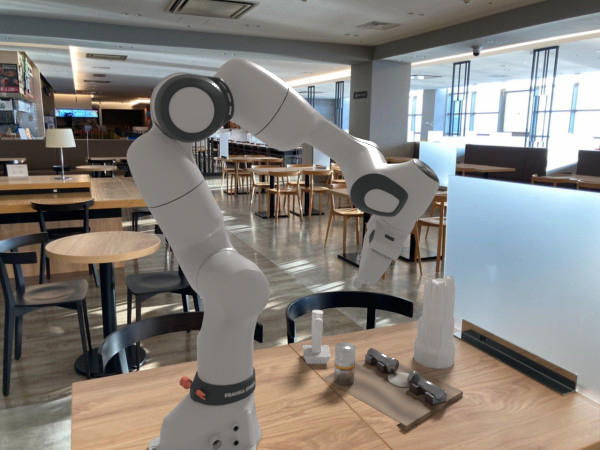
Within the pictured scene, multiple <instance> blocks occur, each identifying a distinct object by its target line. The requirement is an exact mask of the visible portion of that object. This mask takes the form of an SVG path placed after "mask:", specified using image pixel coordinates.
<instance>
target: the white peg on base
mask: <svg viewBox="0 0 600 450" xmlns="http://www.w3.org/2000/svg"><path fill="white" fill-rule="evenodd" d="M323 316H324V311H323V310H320V309H313V310H312V311H311V344H302V353H303V358H304V360H305V363H306V364H307V365H327V364H328V363H329V361H330V359H331V358H332V355H331V351H330V345H329V344H322V338H323V333H324V328H323V326H324V325H323V324H324V322H323Z"/></svg>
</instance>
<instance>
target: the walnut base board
mask: <svg viewBox="0 0 600 450" xmlns="http://www.w3.org/2000/svg"><path fill="white" fill-rule="evenodd" d="M412 371H417V372H419V373H420V374H421V377H423V378H425V379H426V380H428V381H430V382H431V383H433V384H435V385H437V386H438V387H440V388H442V389H443V390H445V392H447V397H446V401H445V402H443V403H440V404H437V405H435V406H431V405H430V404H428V403H427V402H425V393H424V394H421V395H418V396H416V395H414V394H413V393H411V392H410V391H409V390H410V385H408V383H407V378H408V375H409V374H410V373H411V372H412ZM321 379H322V380H323V381H326V382H327V383H328V384H331V385H332V386H334V387H336V388H338V389H339V390H341V391H342V392H345V393H346V394H348V395H350V396H352V397H354V398H356V399H357V400H358V401H361V402H363V403H365V404H366V405H368V406H370V407H372V408H373V409H375V410H377V411H379V412H380V413H382V414H384V415H385V416H387V417H389V418H391V419H393V420H395V421H396V422H398V424H396V427H398V428H400V429H401V430H404V431H408V430H411V429H412V428H413V427H415V426H416V425H418V424H420V423H421V422H423V421H425V420H426V419H427V418H429V417H431V416H432V415H435V414H436V413H437V412H439V411H441V410H443V409H444V408H446V407H447V406H448V405H451V404H452V403H454V402H455V401H457V400H459V399H460V398H462V397H463V393H464V392H463V390H461V389H458V388H456V387H454V386H452V385H450V384H447V383H445V382H444V381H441V380H439V379H436V378H434V377H432V376H430V375H427V374H425V373H423V372H421V371H419V370H416V369H414V368H412V367H410V366H408V365H405V364H403V363H401V362H399V368H398V370H397V371H396V372H395V373H385V374H382V373H380V372H379V371H377V364H376V365H373V366H370V365H368V364H367V363H365V359H364V360H361V361H359V362H357V363H356V362H355V379H354V384H352V385H350V386H341V385H338V384H336V383H335V382H334V372H333V373H330V374H327V375H326V376H324V377H321Z"/></svg>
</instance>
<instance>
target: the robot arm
mask: <svg viewBox="0 0 600 450" xmlns="http://www.w3.org/2000/svg"><path fill="white" fill-rule="evenodd" d="M229 122H232V123H234V124H236V125H237V126H239V127H240V128H242V129H243V130H244V131H246V132H248V134H250V135H252V136H253V137H255V139H257V140H258V141H260V142H262V144H265V145H267V146H268V147H271V148H273V149H275V150H278V151H280V152H286V151H292V150H295V149H297V148H300V146H302V145H303V144H307V145H310V146H311V147H313V148H314V149H316V150H317V151H319V152H320V153H322V154H323V155H325V156H326V157H328V158H330V159H331V160H332V161H334V162H335V163H336V164H337V166H338V167H339V169H340V171H341V174H342V176H343V179H344V182H345V185H346V189H347V190H346V191H347V193H348V196H349V199H350V201H351V203H352V205H353V206H354V207H355V208H356V209H357V210H359V211H361V212H362V213H366V214H370V215H371V216H370V217H369V220H368V221H367V223H366V229H367V230H366V232H365V234H364V237H363V243H362V249H361V252H360V254H359V255H358V257H357V259H356V264H357V265H358V266H359V267H358V274H357V276H355V278H354V280H353V281H352V286H353V287H354V288H355V289H356V290H359V289H361V287H362V286H363V285H365V284H366V285H368V286H373V285H375V284H376V283H377V282H378V281H379V279H381V277H382V276H383V275H384V274H385V273H386V271H387V270H388V268H389V267H390V266H391V264H392V262H393V260H394V261H397V260H398V258H399V257H400V256H401V254H402V250H403V247H404V244H405V242H406V241H407V240H408V237H409V236H410V234H411V233H412V231H413V229H414V228H415V225H416V222H417V221H418V220H419V218H420V217H422V216H423V215H424V214H425V212H426V211H427V210H428V208H429V207H430V205H431V203H432V202H433V200H434V198H435V197H436V195H437V192H438V191H439V187H440V179H439V177H438V175H437V173H436V172H435V170H433V169H432V168H431V167H430V165H428V164H427V163H425V162H424V161H422V160H420V159H417V158H412V159H410V160H407V161H405V162H404V161H403V162H399V163H388V161H387V158H386V154H385V152H384V150H383V149H382V148H381V146H380V145H378V144H377V143H375V142H373V141H370V140H367V139H363V138H358V137H355V136H353V135H351V134H350V133H348V132H347V131H345V130H344V129H342V128H341V127H339V126H338V125H337V124H336V123H334V122H332V121H331V120H329V119H328V118H327V117H326V116H324V115H322V114H321V113H320V112H319V111H317V109H315V108H314V106H312V104H310V103H309V102H308V100H306V99H305V98H304V97H303V96H302V94H301V93H299V92H298V91H297V90H295V89H294V88H293V87H292V86H291V85H290V84H288V83H287V82H285V81H284V80H283V79H281V78H280V77H279V76H277V75H276V74H274V73H273V72H271V71H270V70H268V69H266V68H264V67H263V66H261V65H260V64H257V63H256V62H254V61H252V60H249V59H247V58H245V57H242V56H241V57H239V56H238V57H233V58H230V59H229V60H227V61H226V62H224V63H223V64H222V65H221V66H220V67H219V68H218V70H217V71H216V73H215V74H214V75H213V76H211V75H204V74H203V75H201V74H195V73H191V72H190V73H189V72H183V71H182V72H181V71H180V72H174V73H170V74H169V75H166V76H164V77H163V78H162V79H160V81H158V82H157V83H156V84H155V86H154V87H153V90H152V92H151V95H150V99H149V130H148V131H147V132H145V133H143V134H142V135H140V136H138V137H137V138H136V139H135V140H133V142H132V143H131V144H130V145H129V147H128V149H127V151H126V161H127V165H128V167H129V171H130V173H131V176H132V178H133V181H134V183H135V185H136V187H137V189H138V192H139V194H140V195H141V196H140V197H141V199H143V201H144V203H145V205H146V207H147V208H148V210H149V212H150V213H151V215H152V217H153V218H154V220H155V221H156V224H157V225H158V227H159V228H160V231H161V232H162V233H163V235H164V237H165V239H166V240H167V242H168V244H169V246H170V248H171V250H172V253H173V254H174V257H175V259H176V260H177V263H178V265H179V267H180V268H181V271H182V273H183V274H184V277H185V279H186V280H187V282H188V283H189V286H190V287H191V289H193V291H194V292H195V293H196V294H197V295H198V296H199V297H200V298H201V300H202V303H203V308H204V311H203V318H202V324H201V328H200V330H199V331H198V333H197V335H196V360H197V361H196V362H197V363H196V364H197V365H196V367H197V370H196V372H195V374H194V377H193V379H191V378H189V377H188V376H186V375H183V376H182V377H181V378H180V379H179V381H178V382H179V385H180V386H181V387H182V388H183V389H184V390H189V391H188V393H187V394H186V395H185V396H184V397H183V399H181V401H179V402H178V404H177V405H176V406H175V407H173V408H172V410H170V411H169V413H168V414H166V415H165V417H164V418H163V420H162V422H161V426H160V433H159V435H158V436H157V437H155V438H153V439H152V440H150V441H149V444H148V446H147V447H148V449H147V450H257V446H258V444H259V442H260V441H261V439H262V429H261V425H260V423H259V419H258V416H257V415H258V413H257V409H256V408H257V407H256V402H255V390H256V388H257V387H256V385H257V384H256V380H257V379H256V370H255V369H256V368H255V367H254V338H255V337H254V336H255V330H256V326H257V322H258V319H259V318H258V317H259V315H260V314H261V313H263V311H264V310H265V308H267V305H268V303H269V300H270V296H271V285H270V282H269V280H268V278H267V276H266V275H265V274H264V272H263V271H262V270H261V268H260V267H259V266H258V265H257V264H256V263H255V262H254V261H252V260H250V259H249V258H247V257H245V256H243V255H242V254H240V253H239V252H238V251H237V249H235V247H234V246H233V245H232V242H231V240H230V238H229V235H228V233H227V229H226V226H225V222H224V214H223V212H222V209H221V208H220V206H219V204H218V202H217V200H216V198H215V196H214V195H213V193H212V191H211V189H210V187H209V185H208V184H207V182H206V179H205V178H204V175H203V174H202V172H201V170H200V168H199V166H198V165H197V162H196V159H195V158H194V157H195V156H194V154H193V145H194V144H195V143H199V142H202V141H205V140H207V139H208V138H210V137H211V136H213V135H214V134H216V132H218V131H219V130H220V129H221V128H222V127H223V126H224V125H226V124H227V123H229Z"/></svg>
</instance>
